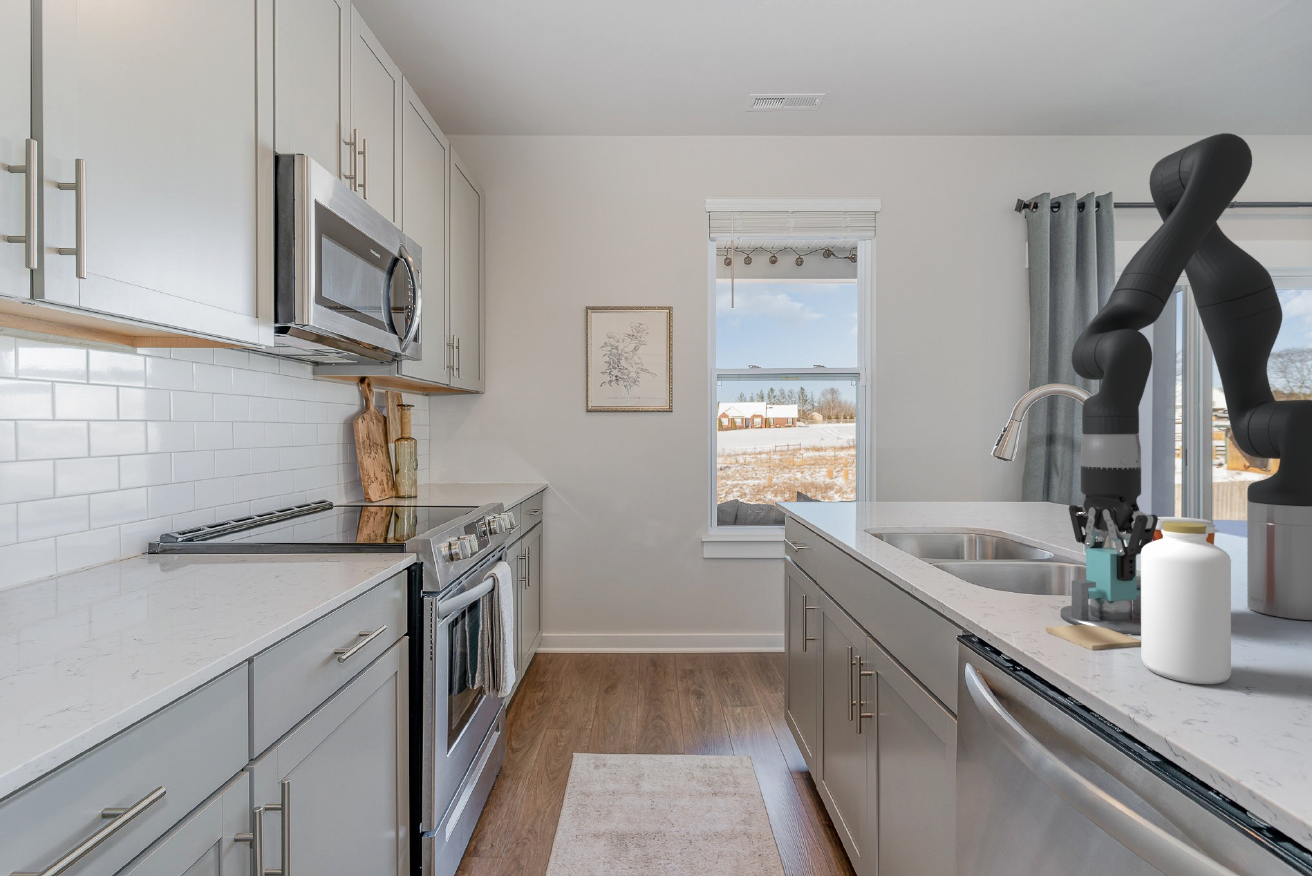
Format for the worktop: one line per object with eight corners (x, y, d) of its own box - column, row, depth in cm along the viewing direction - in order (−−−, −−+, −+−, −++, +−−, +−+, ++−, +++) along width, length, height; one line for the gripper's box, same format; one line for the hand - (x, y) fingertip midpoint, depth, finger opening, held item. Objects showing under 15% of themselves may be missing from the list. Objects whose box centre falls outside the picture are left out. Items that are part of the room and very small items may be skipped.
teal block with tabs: (1123, 591, 101) (1123, 546, 101) (1149, 598, 96) (1149, 552, 96) (1073, 594, 99) (1073, 549, 99) (1097, 602, 95) (1097, 554, 95)
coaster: (1093, 627, 95) (1093, 623, 95) (1143, 645, 87) (1143, 641, 87) (1045, 631, 94) (1045, 627, 94) (1092, 650, 86) (1092, 645, 86)
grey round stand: (1110, 607, 106) (1110, 568, 105) (1189, 631, 93) (1189, 587, 93) (1040, 612, 103) (1040, 572, 103) (1111, 638, 90) (1111, 592, 90)
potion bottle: (1142, 656, 83) (1142, 517, 83) (1229, 671, 78) (1228, 522, 78) (1139, 676, 77) (1138, 525, 77) (1233, 694, 72) (1232, 531, 71)
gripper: (1176, 466, 91) (1176, 587, 91) (1093, 461, 105) (1093, 566, 106) (1129, 467, 90) (1130, 589, 90) (1052, 462, 104) (1052, 568, 104)
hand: (1110, 576), depth 98 cm, fingers closed on teal block with tabs, 4 cm apart
